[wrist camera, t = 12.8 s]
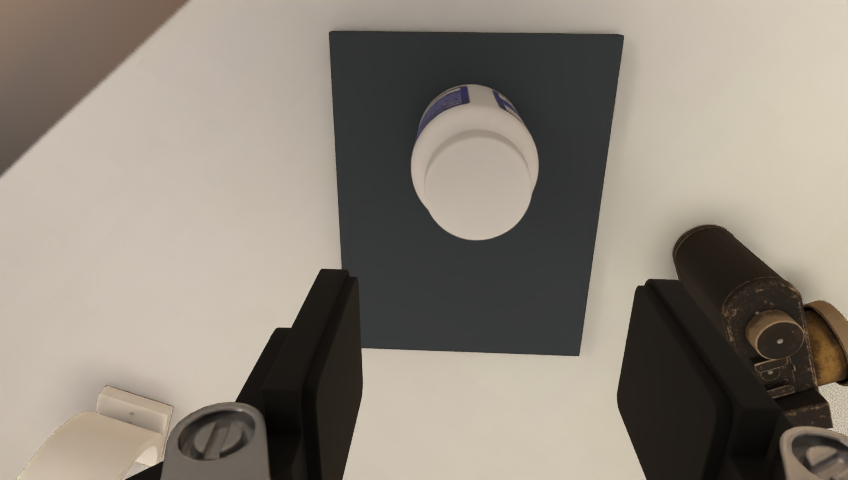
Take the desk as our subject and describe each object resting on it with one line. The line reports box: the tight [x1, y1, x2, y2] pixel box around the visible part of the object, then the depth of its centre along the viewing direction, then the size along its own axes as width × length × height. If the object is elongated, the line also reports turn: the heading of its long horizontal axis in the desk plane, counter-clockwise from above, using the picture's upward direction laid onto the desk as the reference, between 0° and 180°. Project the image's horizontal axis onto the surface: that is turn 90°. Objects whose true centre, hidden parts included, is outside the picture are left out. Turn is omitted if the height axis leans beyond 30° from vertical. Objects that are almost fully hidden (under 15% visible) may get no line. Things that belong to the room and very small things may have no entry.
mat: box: [329, 31, 624, 356], centre depth 31 cm, size 18×14×1 cm
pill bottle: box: [411, 84, 539, 240], centre depth 24 cm, size 5×5×9 cm
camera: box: [673, 225, 848, 429], centre depth 30 cm, size 16×7×8 cm, turn 23°
